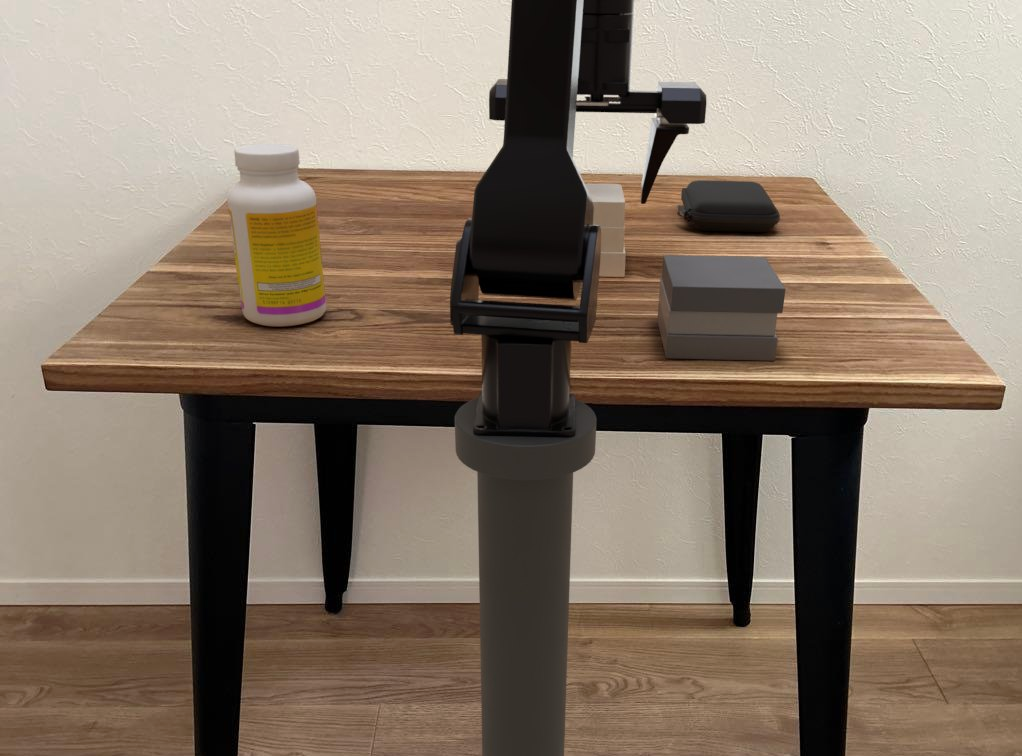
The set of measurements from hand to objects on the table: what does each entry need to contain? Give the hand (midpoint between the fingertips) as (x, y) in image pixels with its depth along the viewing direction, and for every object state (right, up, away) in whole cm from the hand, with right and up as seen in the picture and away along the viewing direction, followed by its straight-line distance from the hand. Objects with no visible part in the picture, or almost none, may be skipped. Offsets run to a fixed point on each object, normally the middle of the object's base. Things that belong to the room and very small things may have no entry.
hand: (592, 202), depth 97 cm
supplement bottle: (-25, -13, -12) cm, 31 cm away
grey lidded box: (+9, -16, -16) cm, 24 cm away
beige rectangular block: (0, -1, +1) cm, 1 cm away
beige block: (0, -5, +3) cm, 6 cm away
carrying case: (+15, +4, +20) cm, 25 cm away
